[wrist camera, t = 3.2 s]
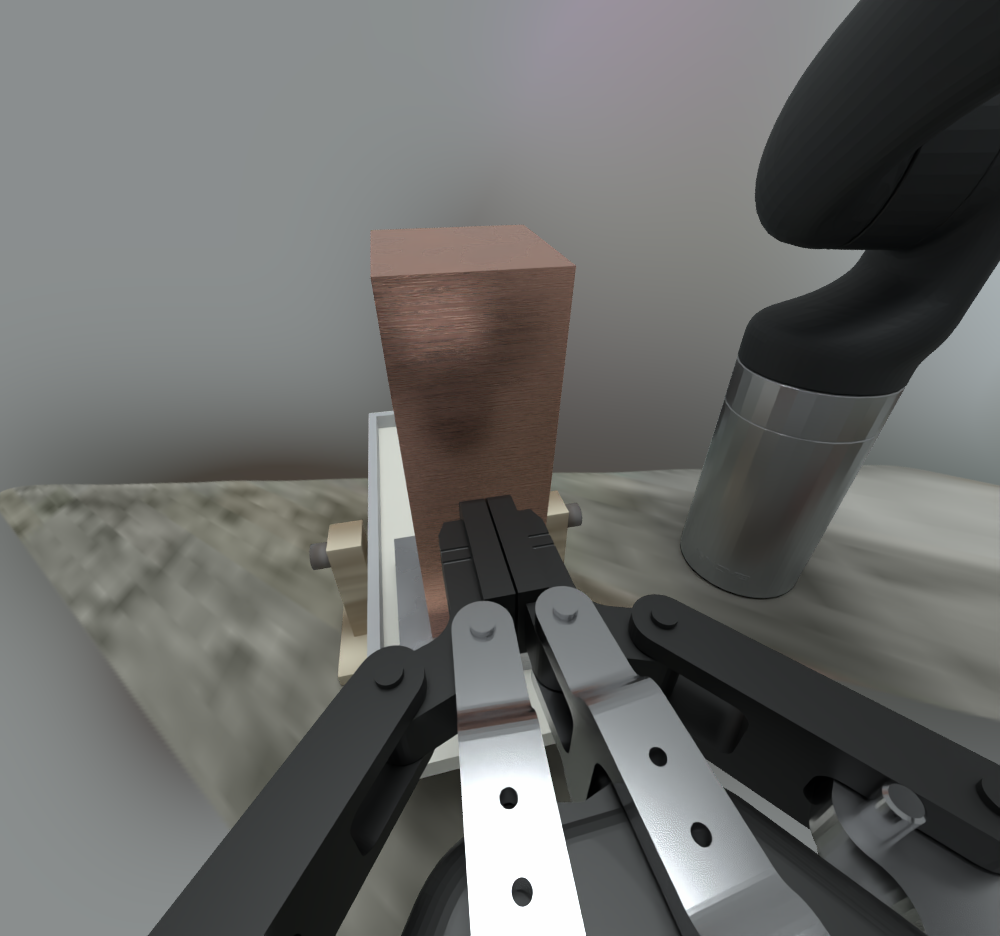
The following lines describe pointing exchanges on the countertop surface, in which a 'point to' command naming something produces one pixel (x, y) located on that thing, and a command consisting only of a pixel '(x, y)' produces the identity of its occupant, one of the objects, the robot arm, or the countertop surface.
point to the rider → (468, 384)
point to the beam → (385, 525)
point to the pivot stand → (351, 574)
